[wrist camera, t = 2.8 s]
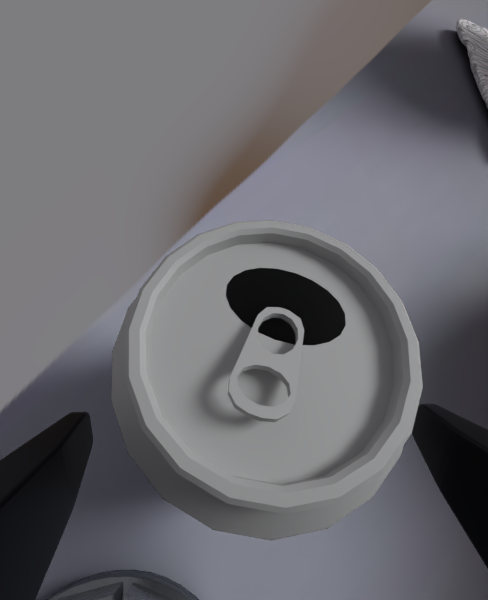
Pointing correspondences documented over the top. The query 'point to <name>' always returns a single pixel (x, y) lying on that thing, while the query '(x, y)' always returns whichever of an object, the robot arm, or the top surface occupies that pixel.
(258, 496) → the can
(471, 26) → the cookie jar
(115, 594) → the rosette plate
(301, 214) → the top surface
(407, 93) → the top surface
